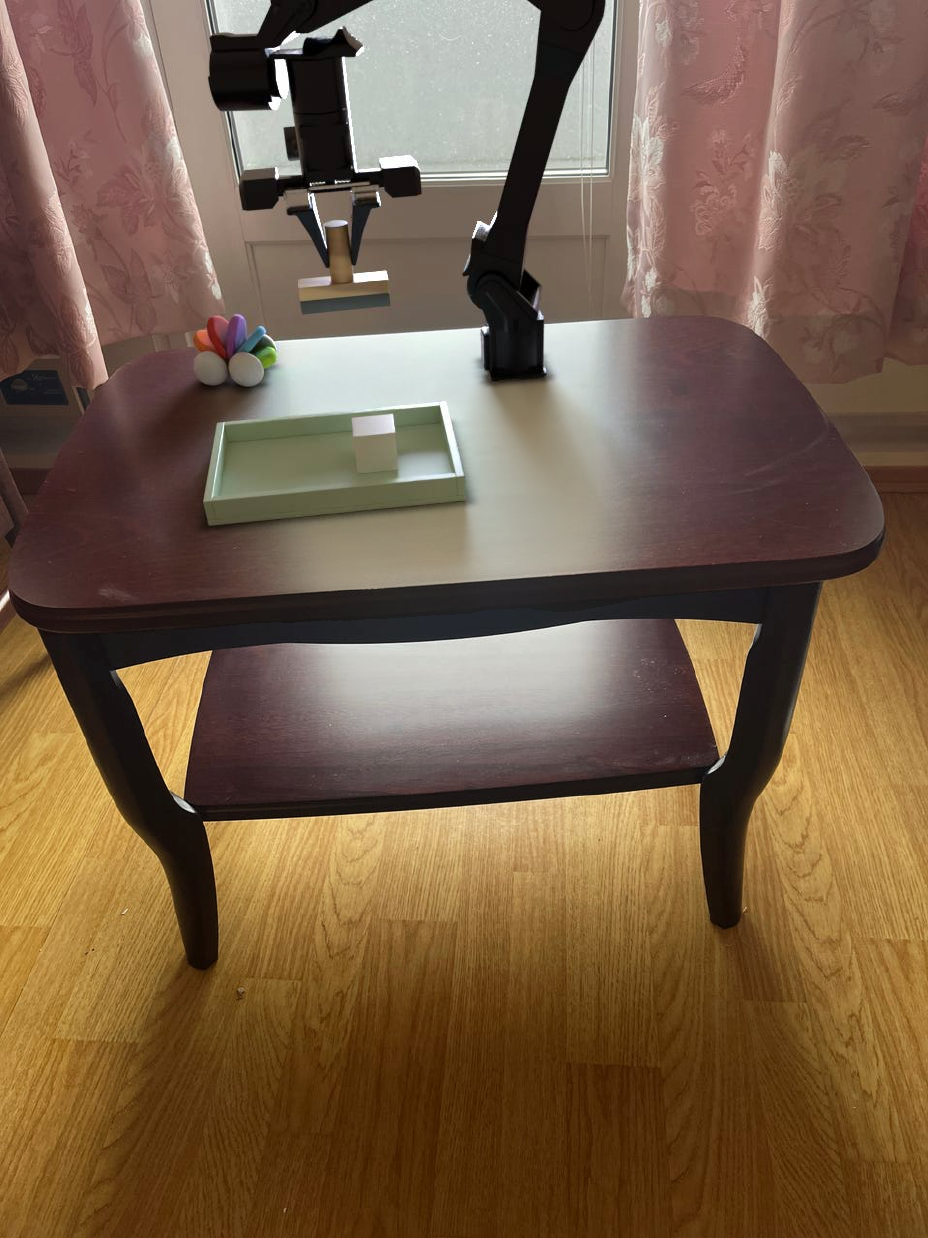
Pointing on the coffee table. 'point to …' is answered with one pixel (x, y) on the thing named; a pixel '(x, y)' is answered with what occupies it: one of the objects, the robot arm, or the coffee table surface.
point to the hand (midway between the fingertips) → (341, 265)
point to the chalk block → (375, 443)
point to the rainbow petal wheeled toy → (232, 352)
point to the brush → (342, 279)
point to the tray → (328, 465)
